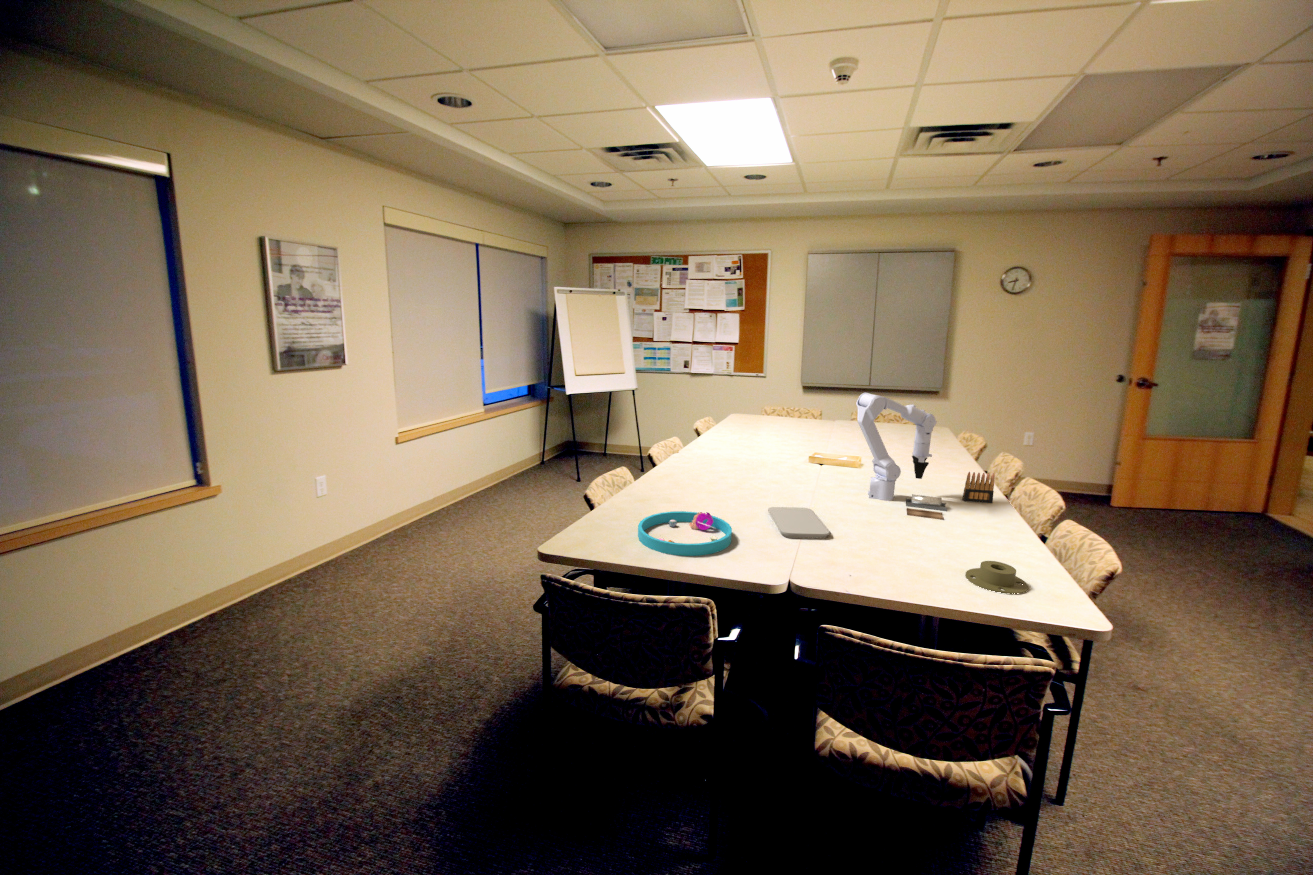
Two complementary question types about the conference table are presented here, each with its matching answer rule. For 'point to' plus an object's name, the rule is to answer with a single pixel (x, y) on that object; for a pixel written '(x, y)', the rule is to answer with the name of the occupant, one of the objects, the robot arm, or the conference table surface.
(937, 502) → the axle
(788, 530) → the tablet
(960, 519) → the conference table surface
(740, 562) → the conference table surface
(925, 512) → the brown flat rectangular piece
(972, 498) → the ammunition clip
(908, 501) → the cradle
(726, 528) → the teal round ring
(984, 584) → the flange
